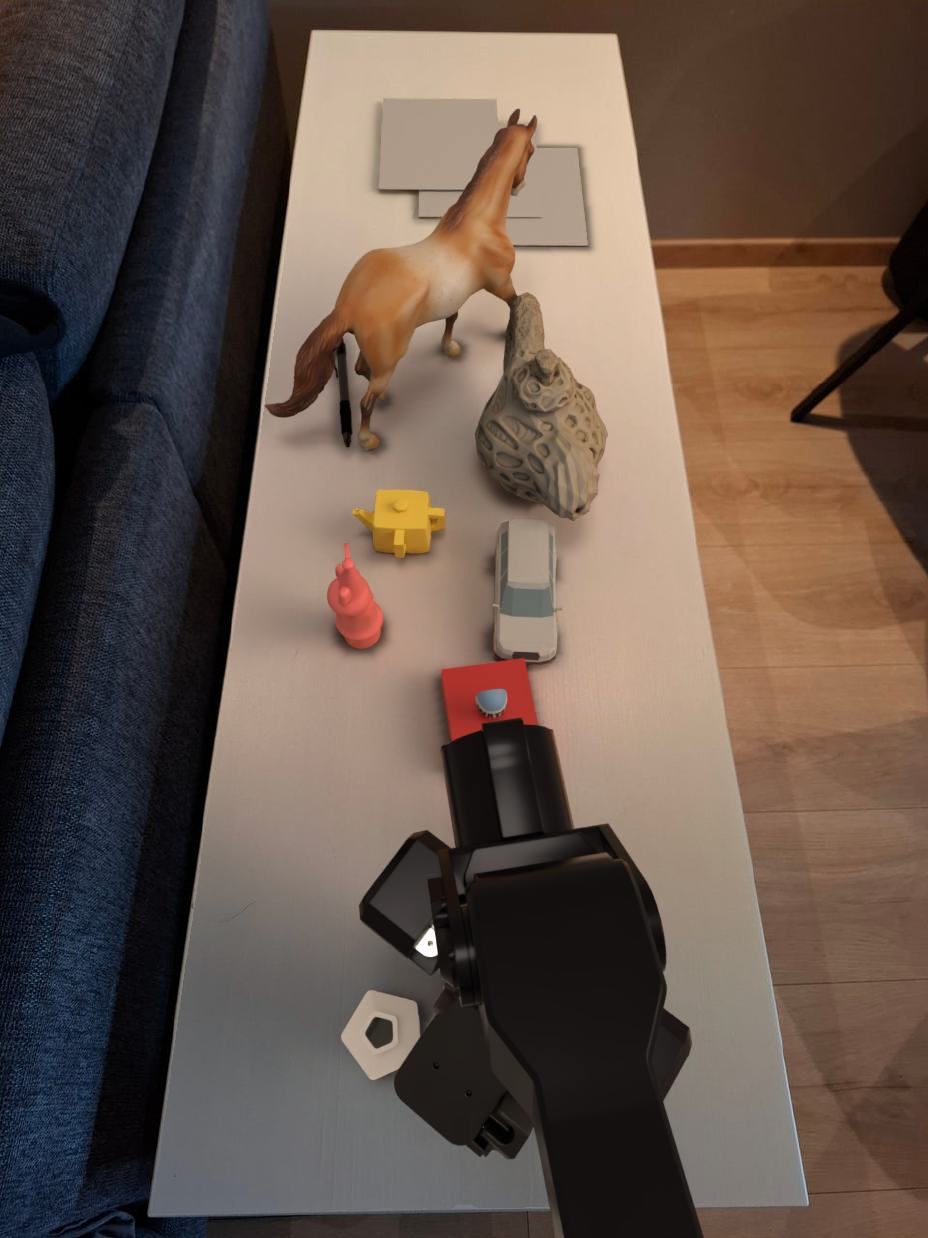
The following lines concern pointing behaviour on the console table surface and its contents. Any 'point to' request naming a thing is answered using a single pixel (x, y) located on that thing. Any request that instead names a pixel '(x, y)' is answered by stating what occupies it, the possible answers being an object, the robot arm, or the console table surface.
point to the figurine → (354, 605)
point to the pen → (344, 394)
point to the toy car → (525, 592)
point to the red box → (486, 695)
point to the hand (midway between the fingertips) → (509, 982)
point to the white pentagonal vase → (382, 1032)
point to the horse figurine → (420, 282)
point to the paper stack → (448, 157)
